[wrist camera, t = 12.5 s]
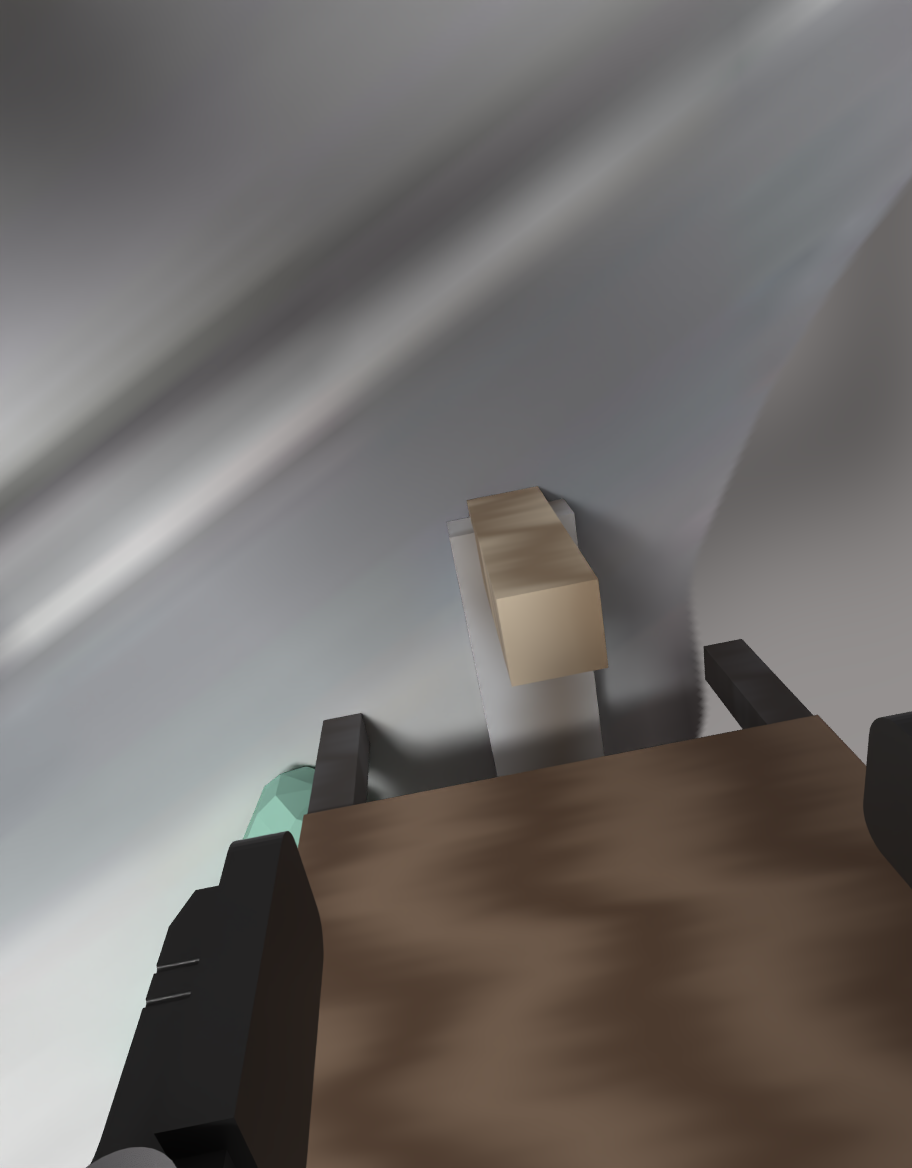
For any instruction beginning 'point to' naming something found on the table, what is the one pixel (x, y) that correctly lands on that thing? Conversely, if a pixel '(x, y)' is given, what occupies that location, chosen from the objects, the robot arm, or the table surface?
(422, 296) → the table surface
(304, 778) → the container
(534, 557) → the plank with tan block
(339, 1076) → the walnut cabinet
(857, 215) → the table surface
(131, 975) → the table surface
